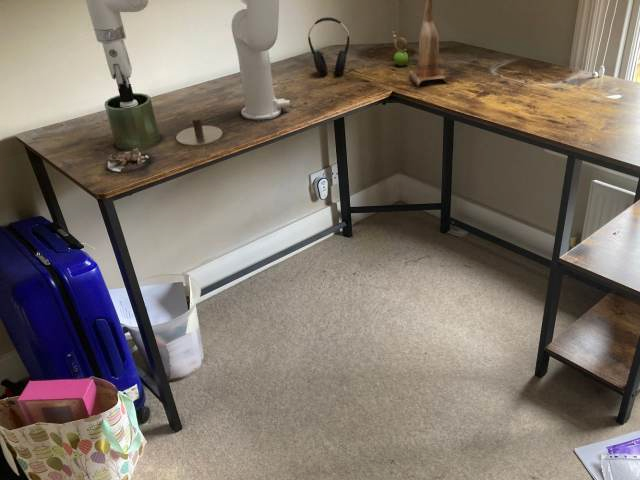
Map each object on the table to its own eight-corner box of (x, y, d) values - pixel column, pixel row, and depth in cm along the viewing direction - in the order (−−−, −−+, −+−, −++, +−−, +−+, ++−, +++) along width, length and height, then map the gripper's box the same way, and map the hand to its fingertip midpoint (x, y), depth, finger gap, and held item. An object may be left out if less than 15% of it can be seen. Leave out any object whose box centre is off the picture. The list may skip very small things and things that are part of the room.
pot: (160, 130, 199) (150, 91, 192) (159, 147, 190) (149, 106, 182) (117, 135, 197) (106, 95, 189) (114, 153, 187) (102, 111, 180)
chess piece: (132, 108, 184) (123, 73, 178) (117, 107, 185) (107, 72, 179) (141, 102, 188) (132, 67, 182) (125, 101, 189) (116, 66, 183)
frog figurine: (121, 176, 175) (117, 163, 173) (98, 163, 182) (94, 151, 179) (157, 162, 182) (154, 149, 180) (135, 150, 188) (131, 138, 186)
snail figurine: (397, 61, 248) (396, 29, 241) (411, 64, 245) (411, 32, 238) (389, 65, 245) (388, 33, 238) (402, 68, 242) (402, 35, 235)
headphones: (351, 77, 235) (348, 20, 223) (310, 78, 235) (305, 21, 223) (351, 70, 242) (348, 13, 230) (311, 71, 242) (307, 14, 230)
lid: (221, 126, 201) (218, 107, 198) (224, 144, 191) (221, 124, 187) (176, 132, 199) (172, 113, 195) (177, 150, 188) (172, 130, 184)
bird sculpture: (436, 73, 237) (439, -22, 218) (449, 83, 228) (453, -14, 209) (407, 77, 235) (408, -19, 215) (419, 87, 226) (420, -11, 206)
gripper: (123, 40, 169) (140, 108, 180) (126, 24, 182) (142, 88, 193) (92, 43, 168) (112, 111, 179) (98, 26, 180) (116, 91, 191)
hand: (127, 99), depth 186 cm, fingers closed on chess piece, 2 cm apart
